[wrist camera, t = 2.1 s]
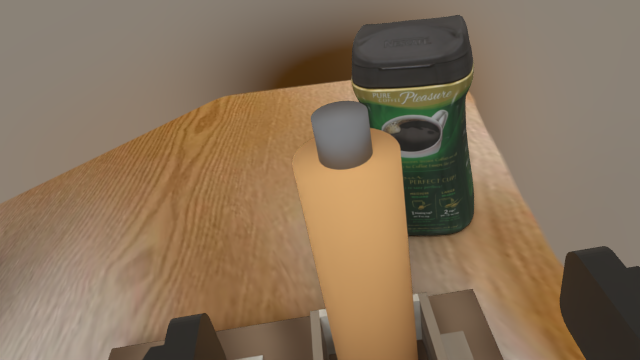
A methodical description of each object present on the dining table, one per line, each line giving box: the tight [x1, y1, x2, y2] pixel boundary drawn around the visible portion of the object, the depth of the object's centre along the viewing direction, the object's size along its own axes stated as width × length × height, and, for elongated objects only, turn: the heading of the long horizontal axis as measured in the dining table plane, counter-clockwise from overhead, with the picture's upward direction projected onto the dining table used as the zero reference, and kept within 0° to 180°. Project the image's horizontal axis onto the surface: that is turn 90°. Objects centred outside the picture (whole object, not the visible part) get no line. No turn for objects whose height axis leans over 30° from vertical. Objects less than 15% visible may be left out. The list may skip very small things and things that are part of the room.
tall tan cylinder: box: [292, 101, 418, 360], centre depth 27 cm, size 5×5×20 cm
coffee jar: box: [351, 15, 474, 236], centre depth 43 cm, size 10×8×19 cm
